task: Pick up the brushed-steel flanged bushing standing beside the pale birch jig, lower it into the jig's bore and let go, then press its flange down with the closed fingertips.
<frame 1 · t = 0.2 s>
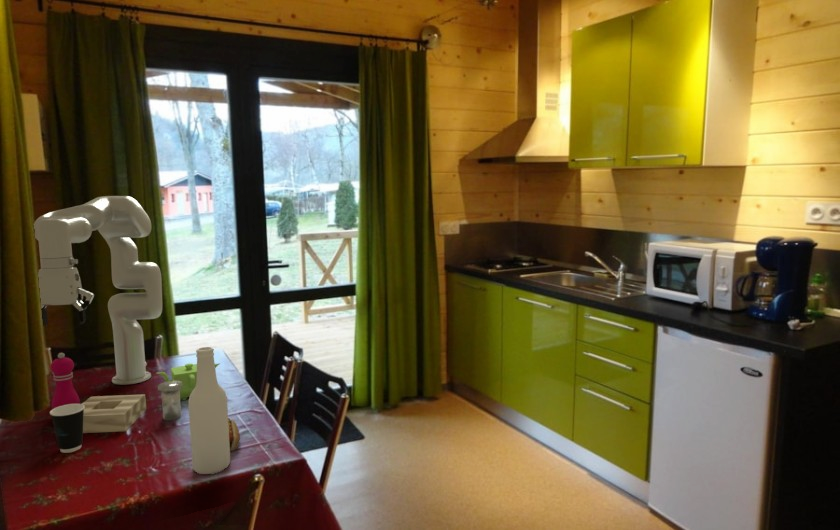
hand: (62, 324, 160), 31 cm above the table, fingers open, 9 cm apart
dixie cup: (71, 449, 153), on the table
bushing: (172, 417, 173), on the table
teapot: (190, 395, 192), on the table
pepper mill: (67, 417, 174), on the table
jig: (108, 421, 171), on the table
food: (229, 443, 156), on the table
alcohol: (211, 467, 142), on the table
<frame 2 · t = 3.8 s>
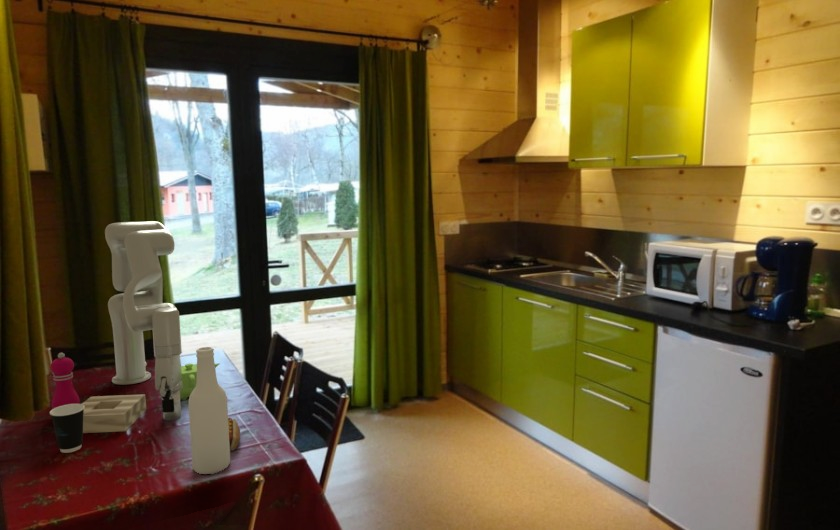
hand: (171, 407, 173), 3 cm above the table, fingers closed on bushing, 5 cm apart
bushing: (172, 417, 173), on the table, touching gripper
everything else where it was.
when the fingers open (6 cm above the table, at t = 9.3 s): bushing drops 3 cm, resting in jig.
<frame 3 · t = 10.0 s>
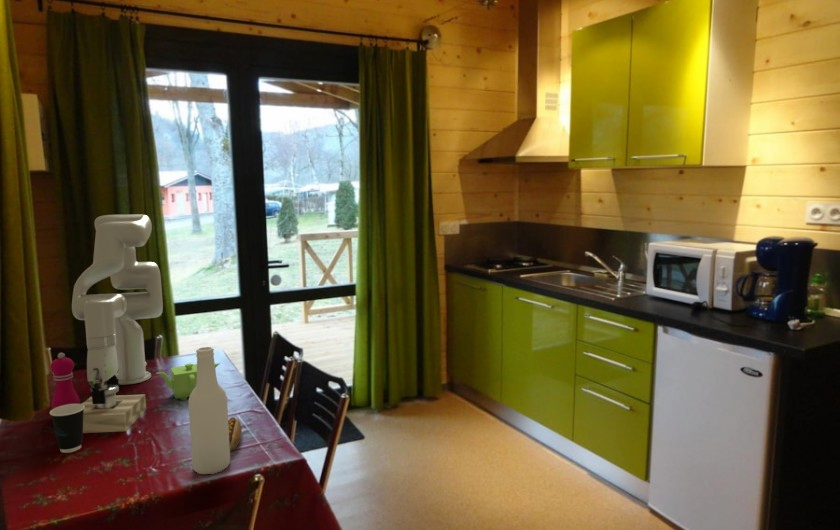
hand: (106, 397, 170), 7 cm above the table, fingers open, 9 cm apart
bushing: (108, 421, 171), resting in jig
everything else where it was.
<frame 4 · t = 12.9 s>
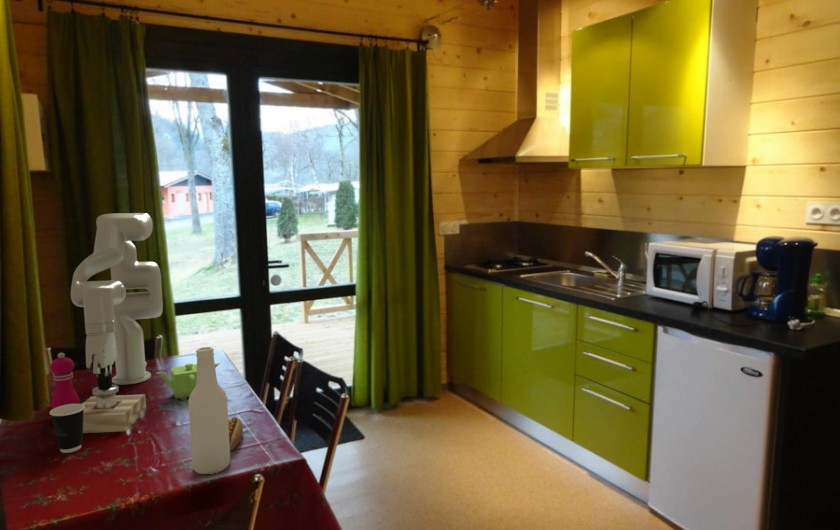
hand: (105, 388, 169), 10 cm above the table, fingers closed
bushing: (108, 421, 171), resting in jig, touching gripper
everything else where it was.
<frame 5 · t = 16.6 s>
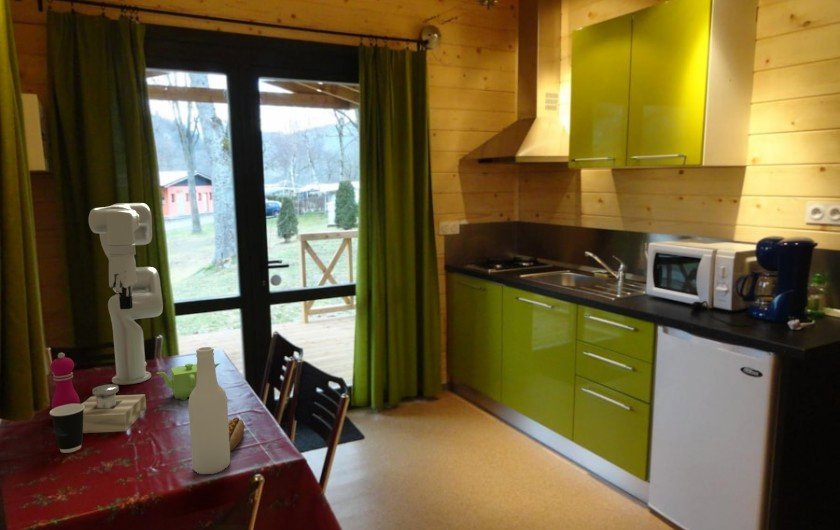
hand: (126, 308, 181), 31 cm above the table, fingers closed
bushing: (108, 421, 171), resting in jig
at the end: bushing 0.1 cm off-centre on the jig, point 0.0 cm above the jig's base; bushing tilted 0°; the gripper is holding nothing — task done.
